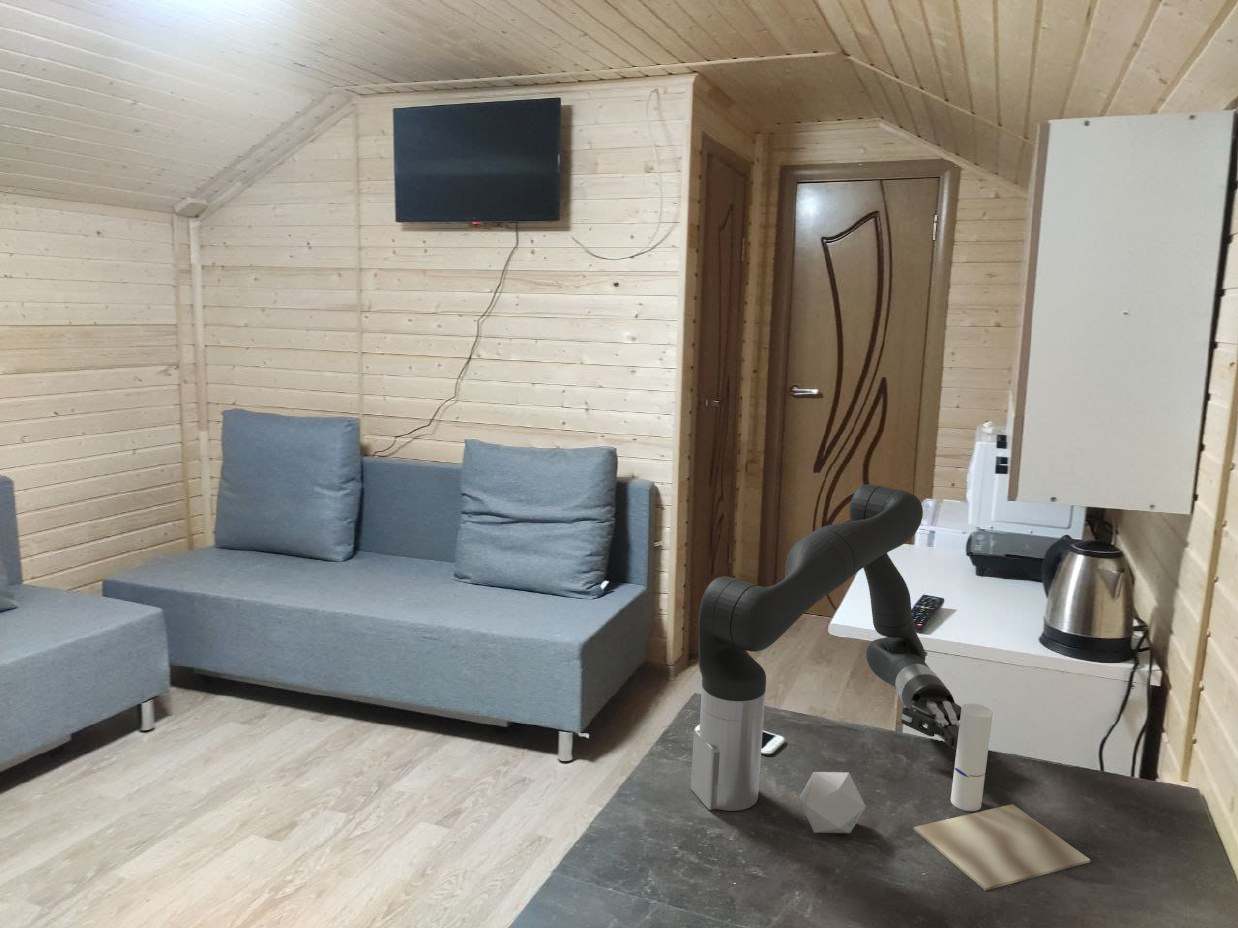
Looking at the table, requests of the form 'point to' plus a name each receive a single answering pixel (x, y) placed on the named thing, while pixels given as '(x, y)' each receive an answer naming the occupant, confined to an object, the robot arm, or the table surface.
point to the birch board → (1000, 846)
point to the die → (832, 802)
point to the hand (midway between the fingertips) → (959, 743)
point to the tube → (971, 757)
